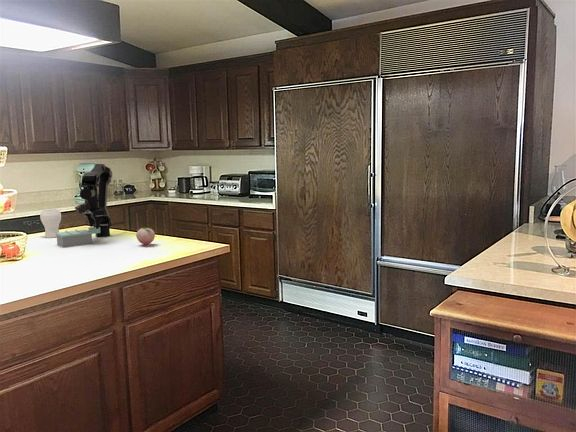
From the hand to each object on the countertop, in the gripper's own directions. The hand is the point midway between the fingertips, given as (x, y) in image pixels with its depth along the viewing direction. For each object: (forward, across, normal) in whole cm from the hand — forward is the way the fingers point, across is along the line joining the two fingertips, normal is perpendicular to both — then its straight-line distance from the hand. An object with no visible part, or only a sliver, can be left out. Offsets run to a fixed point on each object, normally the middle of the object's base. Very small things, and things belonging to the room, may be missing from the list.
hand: (94, 227), depth 249 cm
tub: (+8, 0, -10) cm, 13 cm away
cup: (+8, -37, -11) cm, 39 cm away
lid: (+3, 0, -8) cm, 8 cm away
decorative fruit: (+8, +25, +17) cm, 31 cm away
